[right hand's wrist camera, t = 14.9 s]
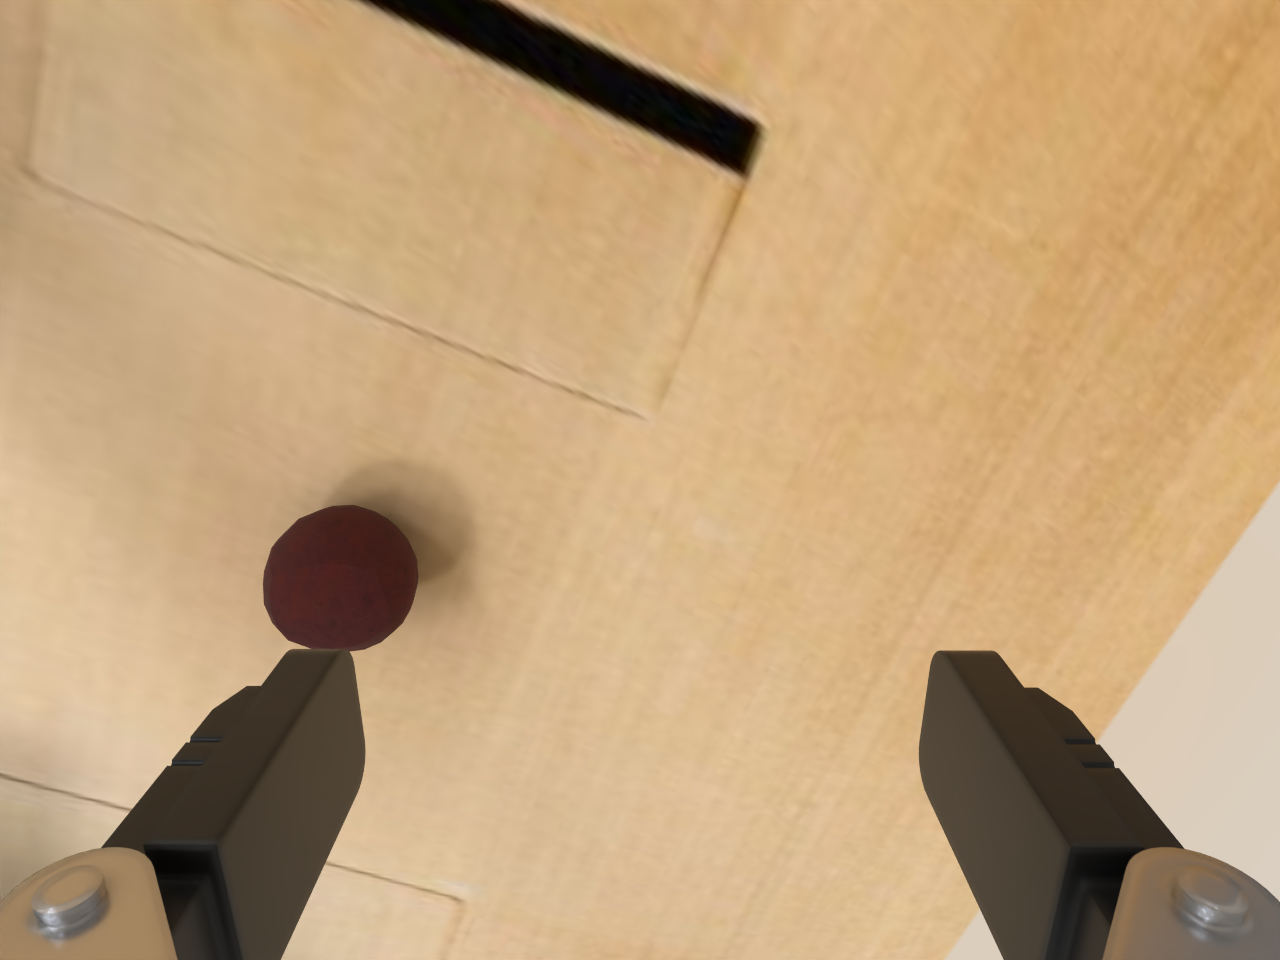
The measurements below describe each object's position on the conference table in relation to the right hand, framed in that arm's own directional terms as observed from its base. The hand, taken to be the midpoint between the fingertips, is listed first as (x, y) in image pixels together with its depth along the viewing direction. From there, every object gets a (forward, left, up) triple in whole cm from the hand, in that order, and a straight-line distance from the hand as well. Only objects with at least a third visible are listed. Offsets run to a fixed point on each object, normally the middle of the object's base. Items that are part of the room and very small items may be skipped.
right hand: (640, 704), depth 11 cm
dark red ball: (+12, -15, -32) cm, 38 cm away
